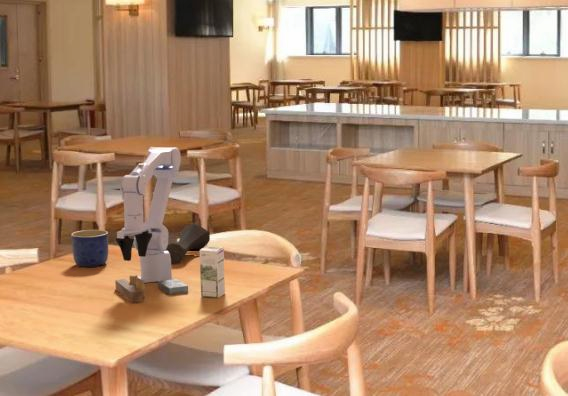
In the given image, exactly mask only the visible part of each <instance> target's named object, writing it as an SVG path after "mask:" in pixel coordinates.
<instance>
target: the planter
mask: <svg viewBox="0 0 568 396" xmlns="http://www.w3.org/2000/svg"><path fill="white" fill-rule="evenodd" d="M70 238H71V250H72V256H73V260H74V263H75V264H76V265H77V266H79V267H83V266H84V268H91V267H92V266H94V267H99V265H100V266H102V265H104V264H106V263H107V261H108V259H109V232H108V231H106V230H103V229H86V230H85V229H84V230H79V231H74V232H72V233H71V234H70Z"/></svg>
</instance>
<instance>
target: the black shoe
mask: <svg viewBox="0 0 568 396" xmlns="http://www.w3.org/2000/svg"><path fill="white" fill-rule="evenodd" d="M210 237H211V234H210V231H208V229H206V228H204V227H202V226H201V225H199V224H195V223H194V224H190V225H186V226H185V227H184V228H183V229H182V230H181V231H180V232H179V239H178V241H176V242H171V243H168V246H167V248H166V250H165V251H168V252H169V253H170V257H171V264H172V265H173V264H174V265H178V264H181V262H182V261H183V260H185V257H186V255H187V252H188V251H190V250H194V249H198V250H201V249H202V248H204V247H206V246H207V245H208V244H209V242H210V241H211V238H210Z"/></svg>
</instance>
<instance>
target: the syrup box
mask: <svg viewBox="0 0 568 396" xmlns="http://www.w3.org/2000/svg"><path fill="white" fill-rule="evenodd" d="M224 250H225V248H224V247H222V246H207V245H206V246H205V247H204V248H202V249H199V268H200V269H199V270H200V272H199V275H200V296H201V297H202V298H203V297H204V298H212V299H213V298H214V299H216V298H217V299H219V298H221V297H222V296H224V295H226V285H225V284H226V283H225V282H226V281H225V280H226V279H225V251H224Z"/></svg>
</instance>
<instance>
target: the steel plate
mask: <svg viewBox="0 0 568 396" xmlns="http://www.w3.org/2000/svg"><path fill="white" fill-rule="evenodd" d="M157 285H158V286H157V288H158V289H160V290H161V291H162V292H164V293H166V294H167V295H169V296H171V295H179V294H185V293H186V294H187V293H189V285H187V284H186V283H184V282H182V281H181V280H180V279H177V278H172V279H171V280H164V281H157Z"/></svg>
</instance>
